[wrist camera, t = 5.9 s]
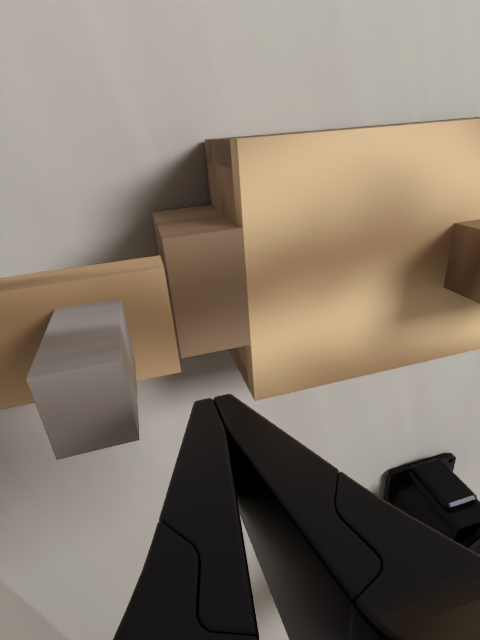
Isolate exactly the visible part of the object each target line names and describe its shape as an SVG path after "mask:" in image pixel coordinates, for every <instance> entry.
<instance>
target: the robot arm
mask: <svg viewBox="0 0 480 640" xmlns="http://www.w3.org/2000/svg"><path fill="white" fill-rule="evenodd" d="M455 460H456V457H455V456H454V455H453V454H452V453H447V454H444V455H440V456H437V457H434V458H430V459H427V460H423V461H420V462H417V463H413V464H410V465H406V466H403V467H399V468H396V469H393V470H391V471H390V472H389V473H388V475H387V481H386V489H385V496H384V500H383V499H381V498H379V497H378V496H376V495H375V494H373V493H372V492H370V491H369V490H367V489H366V488H364V487H363V486H361V485H360V484H358V483H357V482H355V481H354V480H353V479H351V478H350V477H348V476H347V475H346V474H344V473H343V472H339V471H338V469H337V468H335V467H334V466H332V465H331V464H330V463H328V462H327V461H325V460H324V459H322V458H321V457H320V456H318V455H317V454H315V453H314V452H313V451H311V450H310V449H308V448H307V447H305V446H304V445H303V444H301V443H300V442H298V441H297V440H295V439H294V438H293V437H291V436H290V435H288V434H287V433H286V432H284V431H283V430H281V429H280V428H278V427H277V426H276V425H274V424H273V423H271V422H270V421H268V420H267V419H266V418H264V417H263V416H261V415H260V414H259V413H257V412H256V411H254V410H253V409H251V408H250V407H249V406H247V405H246V404H244V403H243V402H241V401H240V400H239V399H237V398H236V397H234V396H233V395H231V394H227V395H222V396H217V397H215V398H214V399H211V398H208V399H203V400H199V401H195V402H194V404H193V408H192V411H191V414H190V418H189V421H188V424H187V428H186V431H185V434H184V438H183V441H182V444H181V448H180V451H179V454H178V458H177V461H176V464H175V468H174V471H173V474H172V478H171V481H170V484H169V488H168V491H167V494H166V498H165V501H164V504H163V508H162V511H161V514H160V518H159V522H158V524H157V527H156V530H155V534H154V537H153V540H152V543H151V546H150V549H149V552H148V555H147V558H146V561H145V564H144V567H143V570H142V572H141V575H140V577H139V580H138V582H137V585H136V587H135V590H134V592H133V594H132V597H131V599H130V602H129V604H128V607H127V609H126V611H125V613H124V616H123V618H122V620H121V622H120V625H119V627H118V629H117V632H116V634H115V636H114V638H113V640H259V633H258V627H257V621H256V614H255V608H254V602H253V595H252V589H251V583H250V576H249V570H248V564H247V558H246V551H245V545H244V539H243V532H242V526H241V520H240V516H241V518H242V521H243V523H244V526H245V528H246V531H247V533H248V536H249V538H250V541H251V544H252V546H253V549H254V551H255V554H256V556H257V559H258V561H259V564H260V566H261V569H262V571H263V574H264V577H265V579H266V582H267V584H268V587H269V589H270V592H271V594H272V597H273V599H274V602H275V604H276V607H277V609H278V612H279V615H280V617H281V620H282V622H283V625H284V627H285V630H286V632H287V635H288V637H289V640H480V501H479V500H478V499H477V496H476V495H475V494H474V493H473V492H472V491H471V490H470V489H469V488H468V487H467V486H466V485H465V484H464V483H463V482H462V481H461V480H460V479H459V478H458V477H457V476H456V475H455V474H454V473H453V469H454V464H455Z"/></svg>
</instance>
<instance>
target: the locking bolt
mask: <svg viewBox="0 0 480 640" xmlns="http://www.w3.org/2000/svg"><path fill="white" fill-rule="evenodd" d="M180 372H181V367H180V361H179V355H178V349H177V343H176V337H175V330H174V324H173V318H172V312H171V306H170V300H169V294H168V288H167V282H166V276H165V270H164V266H163V262H162V259H161V256H160V255H159V256H152V257H144V258H137V259H130V260H123V261H116V262H109V263H102V264H95V265H88V266H81V267H74V268H67V269H60V270H53V271H46V272H39V273H32V274H25V275H18V276H11V277H4V278H0V410H1V409H6V408H11V407H16V406H21V405H25V404H30V403H35V404H36V406H37V409H38V411H39V414H40V417H41V419H42V422H43V425H44V427H45V430H46V433H47V435H48V438H49V440H50V443H51V446H52V448H53V451H54V454H55V456H56V459H61V458H66V457H70V456H74V455H78V454H82V453H87V452H91V451H95V450H99V449H103V448H107V447H112V446H116V445H120V444H124V443H128V442H133V441H137V440H139V423H138V404H137V384H136V381H141V380H146V379H151V378H156V377H160V376H165V375H170V374H175V373H180Z"/></svg>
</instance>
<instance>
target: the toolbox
mask: <svg viewBox="0 0 480 640" xmlns="http://www.w3.org/2000/svg"><path fill="white" fill-rule="evenodd" d="M479 118H480V117H475V118H463V119H450V120H438V121H426V122H414V123H402V124H389V125H377V126H365V127H353V128H341V129H329V130H316V131H304V132H292V133H280V134H268V135H255V136H243V137H231V138H219V139H207V140H205V149H206V159H207V169H208V178H209V188H210V198H211V205H204V206H196V207H187V208H179V209H170V210H162V211H153V212H152V217H153V223H154V229H155V235H156V241H157V247H158V253H159V255H160V256H161V259H162V262H163V266H164V270H165V276H166V282H167V288H168V294H169V300H170V306H171V312H172V318H173V324H174V330H175V336H176V340H177V343H178V347H179V351H180V355H181V359H182V358H187V357H192V356H197V355H202V354H207V353H212V352H217V351H222V350H227V349H229V351H230V353H231V355H232V357H233V359H234V361H235V363H236V365H237V367H238V369H239V371H240V372H241V374H242V376H243V378H244V380H245V382H246V384H247V386H248V373H247V360H246V346H247V345H251V337H250V323H249V308H248V293H247V278H246V263H245V249H244V234H243V228H242V227H241V226H240V225H238V224H237V223H236V213H235V200H234V186H233V173H232V160H231V146H230V139H238V138H250V137H262V136H274V135H286V134H298V133H310V132H322V131H335V130H347V129H359V128H371V127H383V126H395V125H407V124H419V123H431V122H443V121H455V120H467V119H479ZM248 388H249V386H248Z"/></svg>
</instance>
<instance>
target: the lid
mask: <svg viewBox="0 0 480 640" xmlns="http://www.w3.org/2000/svg"><path fill="white" fill-rule="evenodd" d="M230 146H231V160H232V173H233V186H234V200H235V213H236V223H237V224H238V225H240V226H241V227H242V228H243V234H244V249H245V263H246V278H247V293H248V308H249V323H250V337H251V345H247V346H246V360H247V373H248V386H249V390H250V392H251V394H252V396H253V398H254V400H255V401H256V400H261V399H265V398H269V397H274V396H278V395H282V394H287V393H291V392H295V391H300V390H304V389H308V388H312V387H317V386H321V385H325V384H330V383H334V382H338V381H343V380H347V379H351V378H356V377H360V376H364V375H369V374H373V373H377V372H381V371H386V370H390V369H394V368H399V367H403V366H407V365H412V364H416V363H420V362H425V361H429V360H433V359H437V358H442V357H446V356H450V355H455V354H459V353H463V352H468V351H472V350H476V349H480V118H479V119H467V120H455V121H443V122H431V123H419V124H407V125H395V126H383V127H371V128H359V129H347V130H335V131H322V132H310V133H298V134H286V135H274V136H262V137H250V138H238V139H230Z"/></svg>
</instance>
